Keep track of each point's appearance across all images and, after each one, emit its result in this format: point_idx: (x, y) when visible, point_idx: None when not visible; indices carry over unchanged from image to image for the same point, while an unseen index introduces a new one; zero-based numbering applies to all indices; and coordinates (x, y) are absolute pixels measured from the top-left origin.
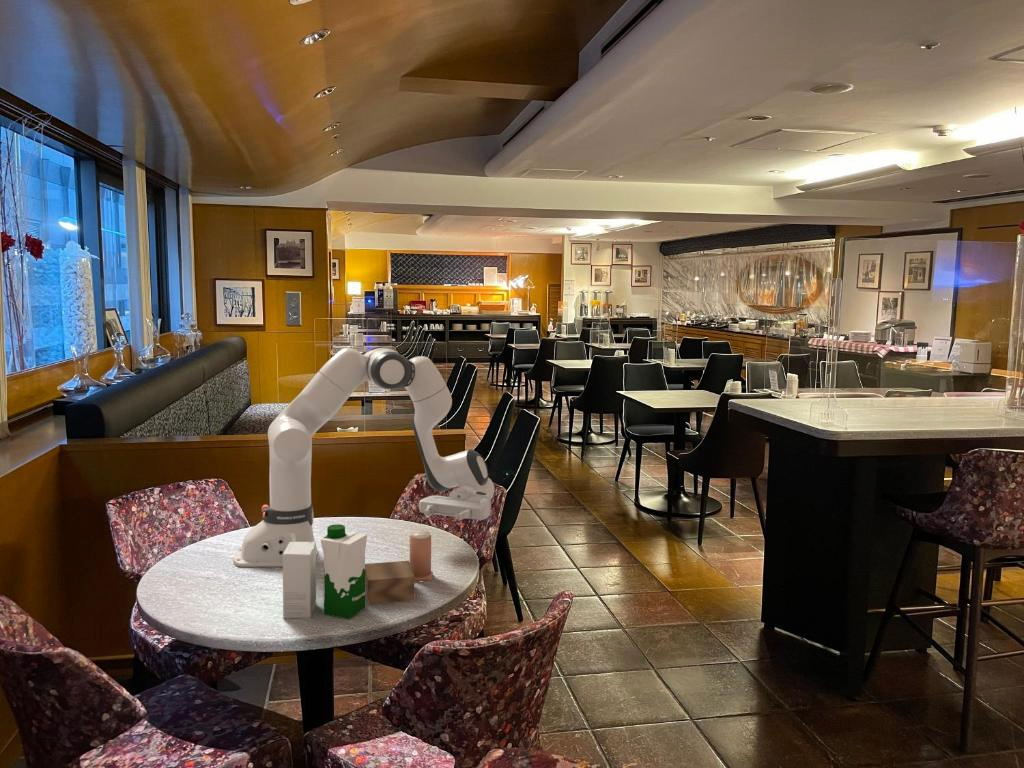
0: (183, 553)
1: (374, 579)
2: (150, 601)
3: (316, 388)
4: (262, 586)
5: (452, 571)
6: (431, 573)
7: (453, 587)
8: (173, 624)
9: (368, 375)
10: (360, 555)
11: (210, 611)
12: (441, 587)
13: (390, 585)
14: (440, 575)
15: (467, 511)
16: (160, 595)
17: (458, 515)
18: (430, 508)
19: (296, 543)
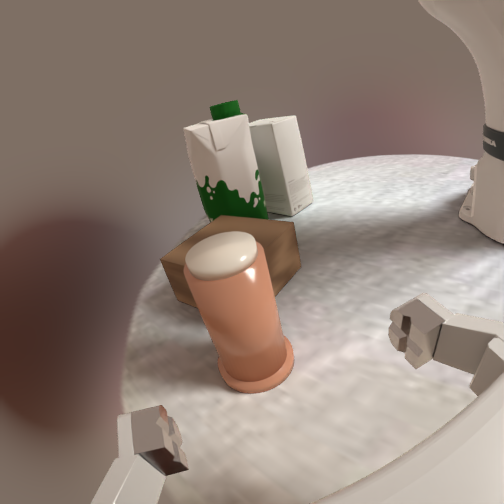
0: None
1: (214, 220)
2: (398, 155)
3: None
4: (393, 193)
5: (211, 450)
6: (228, 376)
7: (142, 379)
8: (336, 161)
9: None
10: (189, 155)
11: (347, 171)
12: (166, 362)
13: None
14: (219, 406)
15: (96, 494)
16: (410, 157)
17: (137, 411)
18: (486, 355)
19: (282, 117)
